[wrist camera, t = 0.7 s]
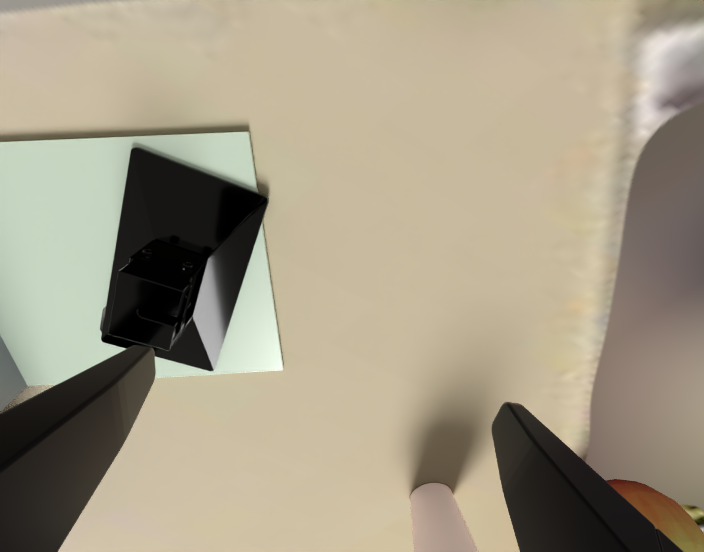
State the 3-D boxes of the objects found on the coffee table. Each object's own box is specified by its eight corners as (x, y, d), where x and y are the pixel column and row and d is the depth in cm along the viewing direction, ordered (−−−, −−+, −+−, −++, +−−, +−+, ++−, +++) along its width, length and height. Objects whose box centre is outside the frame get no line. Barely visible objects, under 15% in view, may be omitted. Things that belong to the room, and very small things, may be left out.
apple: (651, 446, 30) (751, 552, 23) (660, 510, 34) (747, 618, 27) (536, 484, 32) (597, 596, 25) (557, 542, 36) (615, 653, 28)
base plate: (12, 384, 24) (-28, 419, 22) (-120, 146, 18) (-200, 154, 15) (283, 367, 25) (277, 399, 22) (249, 131, 19) (235, 135, 16)
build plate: (215, 368, 24) (191, 423, 20) (99, 336, 23) (47, 388, 19) (270, 196, 20) (253, 223, 16) (128, 142, 18) (68, 155, 14)
